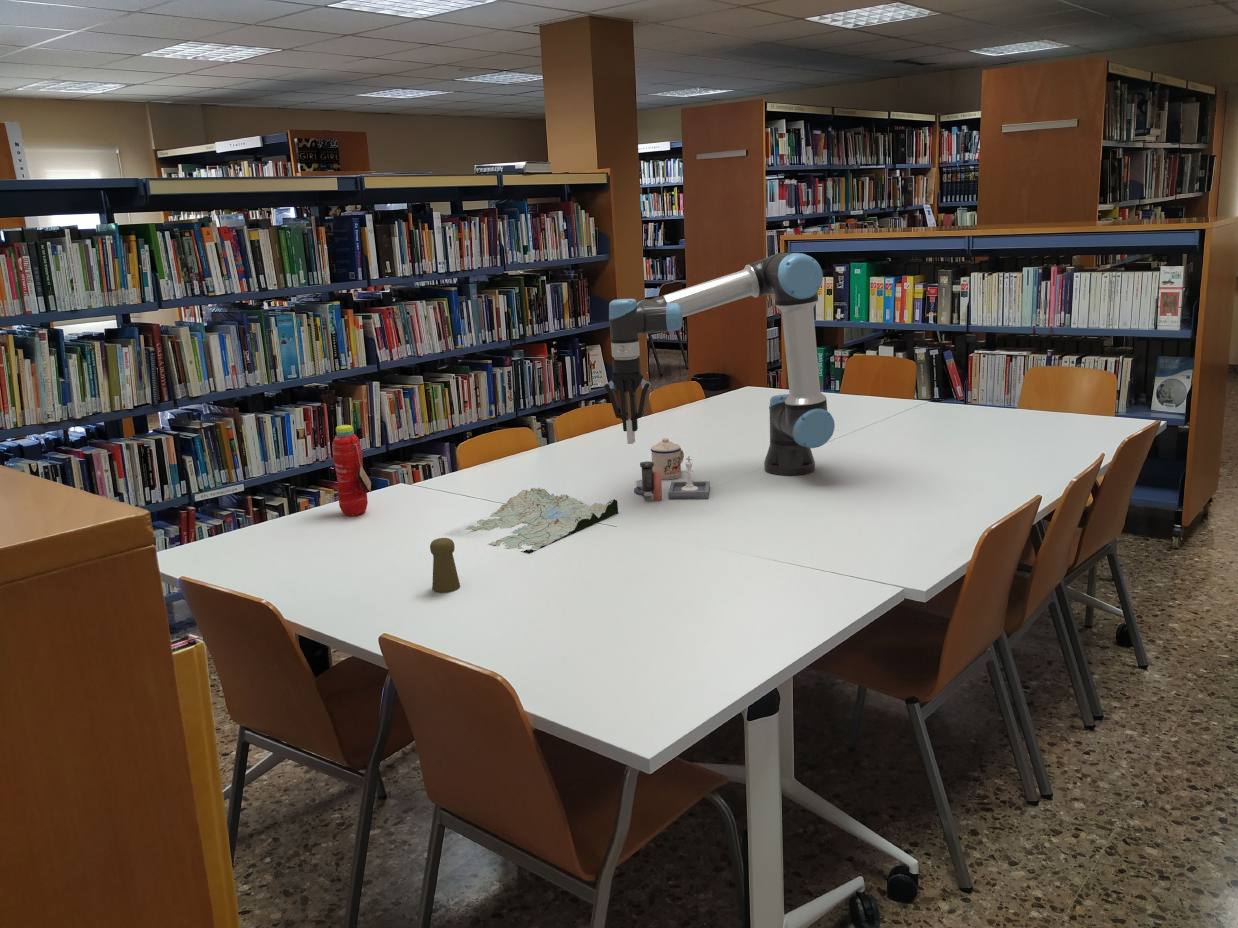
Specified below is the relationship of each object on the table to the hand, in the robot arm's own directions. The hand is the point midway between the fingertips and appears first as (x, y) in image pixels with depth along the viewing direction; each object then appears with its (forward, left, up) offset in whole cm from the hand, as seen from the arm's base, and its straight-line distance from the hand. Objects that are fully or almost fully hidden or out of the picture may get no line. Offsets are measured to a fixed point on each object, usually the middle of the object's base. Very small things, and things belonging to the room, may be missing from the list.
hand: (631, 442), depth 256 cm
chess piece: (-15, -5, -16) cm, 22 cm away
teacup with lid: (-8, -24, -16) cm, 31 cm away
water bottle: (+76, +13, -16) cm, 78 cm away
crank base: (-2, -6, -16) cm, 18 cm away
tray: (-15, -4, -16) cm, 23 cm away
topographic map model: (+24, +22, -17) cm, 37 cm away
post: (-7, +1, -16) cm, 18 cm away
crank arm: (-3, -2, -15) cm, 15 cm away
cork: (+34, +66, -16) cm, 75 cm away
